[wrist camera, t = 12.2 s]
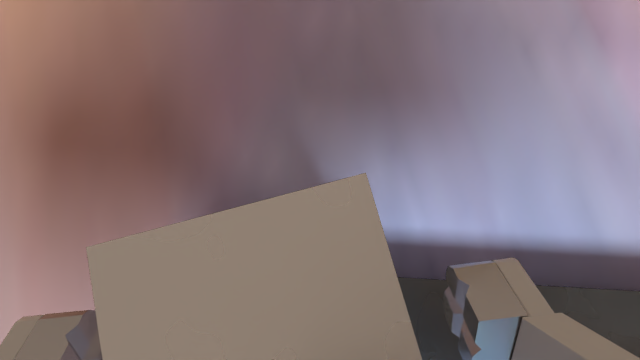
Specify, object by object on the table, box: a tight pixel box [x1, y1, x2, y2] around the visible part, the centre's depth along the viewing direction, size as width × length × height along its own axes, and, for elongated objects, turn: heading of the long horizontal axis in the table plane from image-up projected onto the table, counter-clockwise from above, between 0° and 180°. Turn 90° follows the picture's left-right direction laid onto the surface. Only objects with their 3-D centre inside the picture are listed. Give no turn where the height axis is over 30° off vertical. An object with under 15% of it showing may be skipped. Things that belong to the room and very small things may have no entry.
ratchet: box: [397, 277, 640, 360], centre depth 14 cm, size 25×7×5 cm, turn 87°
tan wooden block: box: [86, 173, 422, 360], centre depth 11 cm, size 5×5×8 cm
